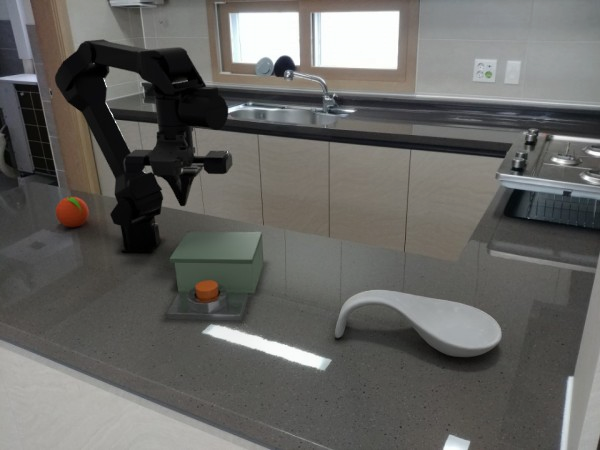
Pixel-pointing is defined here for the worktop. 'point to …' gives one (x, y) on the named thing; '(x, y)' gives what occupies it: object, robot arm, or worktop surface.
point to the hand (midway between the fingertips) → (183, 205)
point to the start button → (207, 290)
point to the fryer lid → (217, 247)
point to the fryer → (222, 274)
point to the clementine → (72, 211)
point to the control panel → (208, 306)
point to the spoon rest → (433, 321)
